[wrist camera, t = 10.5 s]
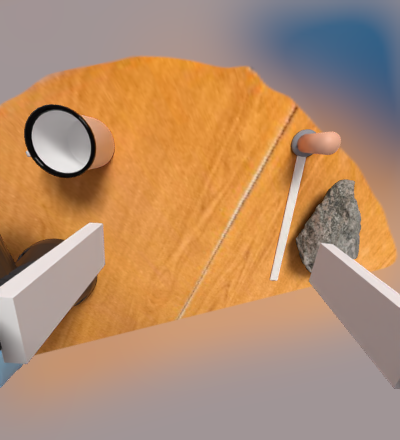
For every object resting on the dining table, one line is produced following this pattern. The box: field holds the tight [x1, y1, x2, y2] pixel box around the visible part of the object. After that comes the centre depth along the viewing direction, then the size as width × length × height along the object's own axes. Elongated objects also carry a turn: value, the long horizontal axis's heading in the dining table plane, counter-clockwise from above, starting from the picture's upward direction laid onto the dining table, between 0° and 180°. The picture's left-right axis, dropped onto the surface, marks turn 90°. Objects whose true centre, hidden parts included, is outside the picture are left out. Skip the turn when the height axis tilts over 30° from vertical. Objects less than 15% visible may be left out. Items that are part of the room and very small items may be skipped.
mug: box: [24, 104, 115, 178], centre depth 34 cm, size 12×10×9 cm
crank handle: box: [270, 129, 341, 280], centre depth 38 cm, size 4×30×8 cm, turn 175°
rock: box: [296, 180, 361, 273], centre depth 40 cm, size 18×10×10 cm
